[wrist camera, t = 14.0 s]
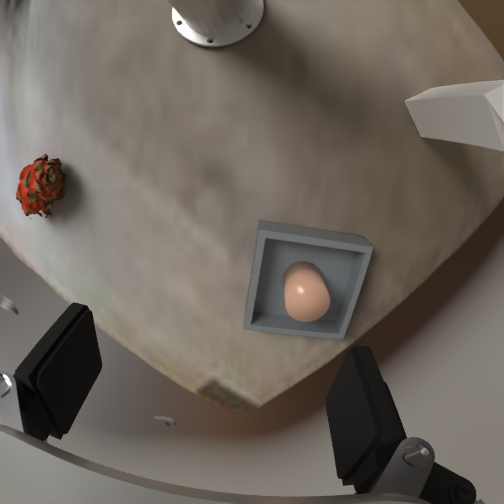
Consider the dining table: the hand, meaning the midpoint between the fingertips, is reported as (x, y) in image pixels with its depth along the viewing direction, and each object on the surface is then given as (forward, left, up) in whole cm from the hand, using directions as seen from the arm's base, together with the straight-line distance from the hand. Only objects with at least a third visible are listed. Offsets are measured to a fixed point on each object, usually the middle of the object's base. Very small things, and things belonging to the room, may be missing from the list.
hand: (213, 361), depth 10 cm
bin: (+13, +10, -34) cm, 38 cm away
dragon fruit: (+3, -33, -35) cm, 48 cm away
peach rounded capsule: (+13, +10, -34) cm, 37 cm away
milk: (-16, +24, -34) cm, 45 cm away
